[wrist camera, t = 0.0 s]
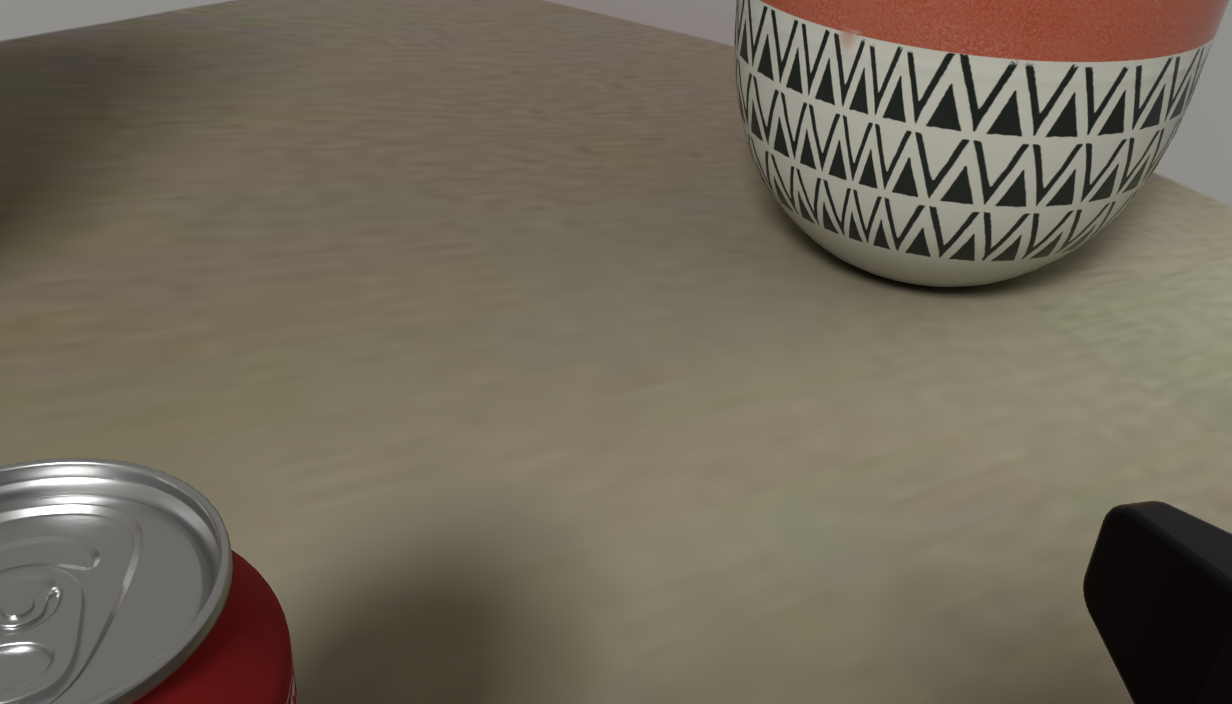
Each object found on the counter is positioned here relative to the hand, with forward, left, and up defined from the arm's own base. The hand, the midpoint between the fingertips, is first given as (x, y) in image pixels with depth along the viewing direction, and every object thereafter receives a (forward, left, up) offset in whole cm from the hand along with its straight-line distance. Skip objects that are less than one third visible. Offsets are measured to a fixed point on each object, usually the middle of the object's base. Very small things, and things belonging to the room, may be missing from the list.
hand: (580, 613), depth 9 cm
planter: (+37, -24, -17) cm, 47 cm away
